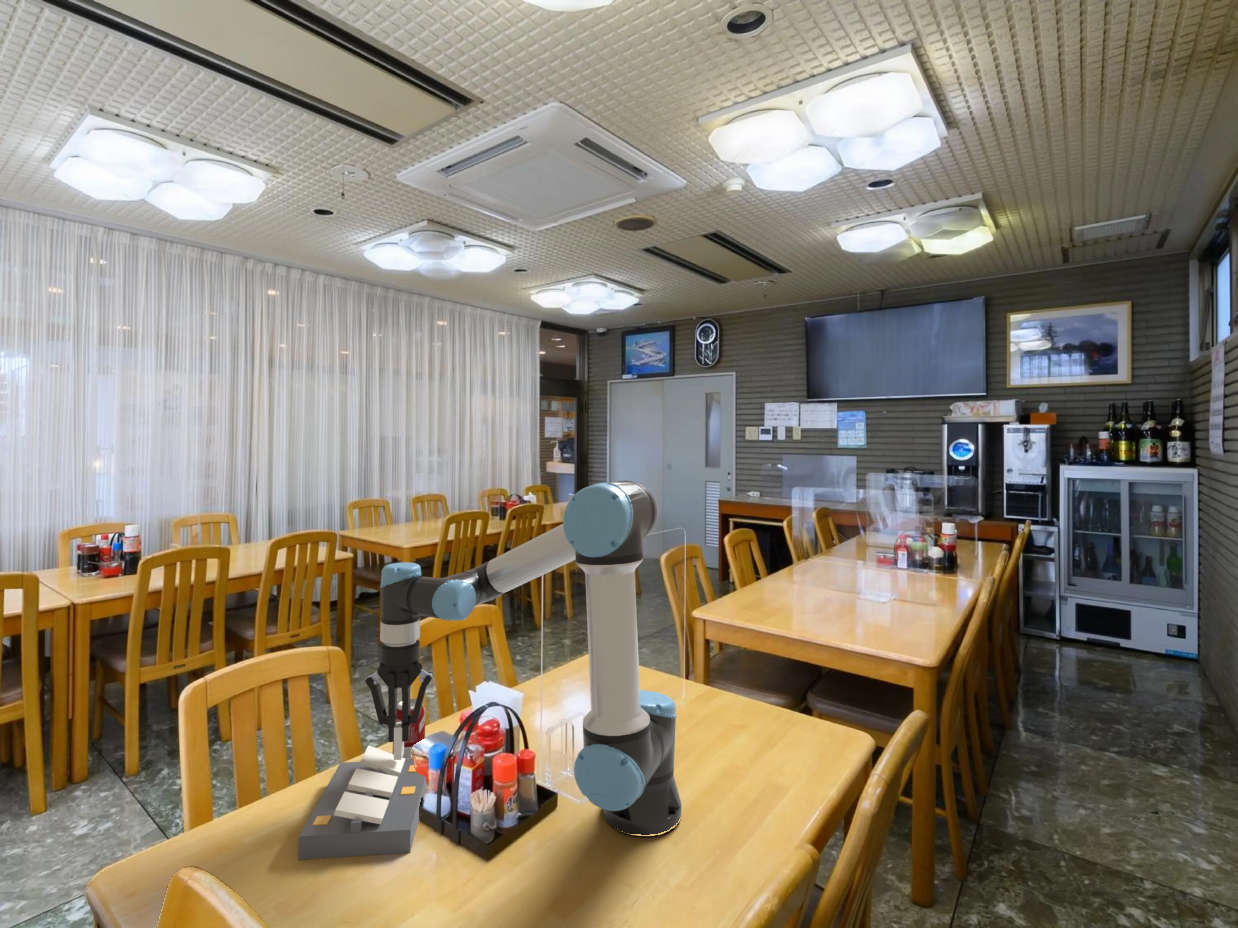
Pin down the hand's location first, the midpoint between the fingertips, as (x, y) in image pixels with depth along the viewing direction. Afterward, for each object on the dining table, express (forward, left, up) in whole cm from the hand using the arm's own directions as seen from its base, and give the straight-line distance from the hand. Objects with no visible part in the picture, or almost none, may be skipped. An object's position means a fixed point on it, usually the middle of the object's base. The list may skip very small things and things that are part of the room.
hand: (398, 756), depth 125 cm
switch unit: (+3, +8, -7) cm, 11 cm away
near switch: (+3, +16, -1) cm, 16 cm away
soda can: (0, -13, -7) cm, 15 cm away
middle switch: (+3, +8, -1) cm, 9 cm away
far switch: (+3, 0, -1) cm, 4 cm away
